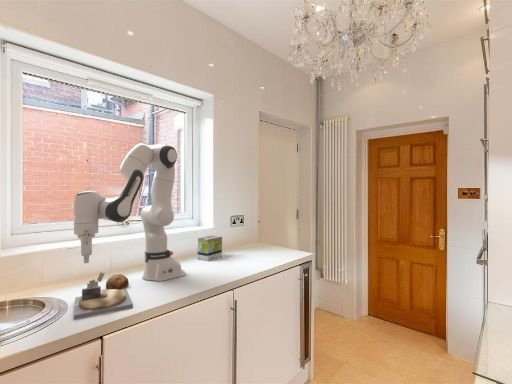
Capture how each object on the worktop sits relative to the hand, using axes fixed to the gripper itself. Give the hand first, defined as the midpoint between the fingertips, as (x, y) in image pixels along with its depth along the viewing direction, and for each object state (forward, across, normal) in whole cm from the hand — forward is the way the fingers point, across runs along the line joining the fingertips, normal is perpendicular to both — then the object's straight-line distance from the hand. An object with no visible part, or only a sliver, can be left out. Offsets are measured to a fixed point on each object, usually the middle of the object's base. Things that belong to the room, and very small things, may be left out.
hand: (86, 262), depth 118 cm
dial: (+15, -6, -6) cm, 17 cm away
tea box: (+18, +45, -74) cm, 89 cm away
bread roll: (+18, +14, -13) cm, 26 cm away
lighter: (+17, +14, -4) cm, 23 cm away
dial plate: (+17, -6, -6) cm, 19 cm away
